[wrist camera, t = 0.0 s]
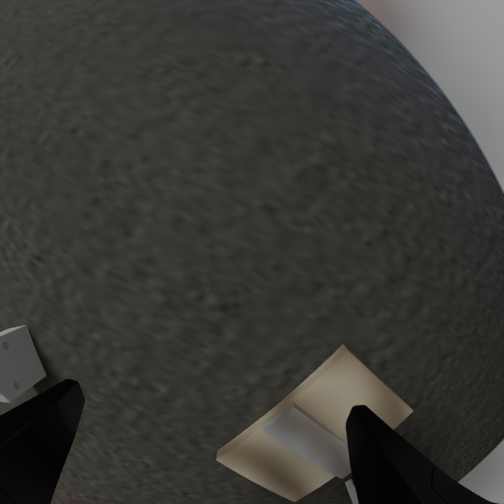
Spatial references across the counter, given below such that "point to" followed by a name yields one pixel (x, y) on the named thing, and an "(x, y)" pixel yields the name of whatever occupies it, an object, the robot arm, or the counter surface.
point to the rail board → (311, 428)
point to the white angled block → (18, 363)
